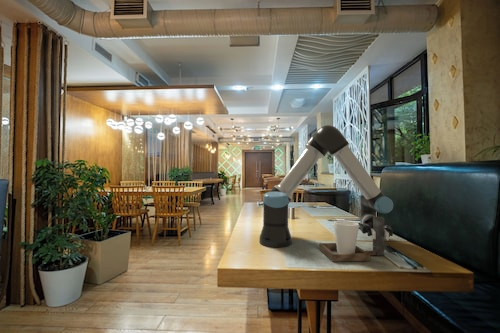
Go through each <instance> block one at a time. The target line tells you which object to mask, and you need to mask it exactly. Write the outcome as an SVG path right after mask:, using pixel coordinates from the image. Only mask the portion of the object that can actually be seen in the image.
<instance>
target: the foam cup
mask: <svg viewBox="0 0 500 333" xmlns="http://www.w3.org/2000/svg"><path fill="white" fill-rule="evenodd" d="M358 223H359V222H356V221H351V220H334V221H333V229H334V235H335V243H336V246H337V250H336V254H337V253H355V248H356V246H357V240H358V234H359V230H360V229H359V224H358Z"/></svg>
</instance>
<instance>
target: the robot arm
mask: <svg viewBox="0 0 500 333" xmlns="http://www.w3.org/2000/svg"><path fill="white" fill-rule="evenodd" d="M304 146H305V147H304V148H305V149H304V150H303V152H302V153H301V155H300V156H299V157H298V159H296V161H295V163H294V164H293V165H292V167H291V168H290V169H289V170H288V172H287V173H286V175H285V176H284V177H283V178H282V179H281V181H280V183H278V184H277V185H274V186H273V187H271V190H269V191H268V192H265V193H264V194H263V198H262V200H263V201H262V204H263V215H262V216H263V220H262V221H263V222H262V223H263V224H262V225H263V226H262V229H261V233H260V235H259V243H260V245H262V246H265V247H269V248H270V247H271V248H285V247H288V246H291V245H292V244H293V243H292V241H293V239H292V238H293V237H292V236H291V235H292V234H291V232H290V228H289V204H290V202H291V201H292V200H293V197H292V196H293V194H294V193H295V191H296V190H297V188H298V187H299V186H300V184H301V183H302V182H303V180H305V178H306V176H307V175H308V174H309V172H311V169H313V167H314V166H315V164H316V163H317V162H318V161H319V160H320V159H324V158H325V157H326V155H327V154H328V153H329V155H330V156H332V157H335V159H336V160H337V162H338V163H339V165H340V166H341V168H343V169H344V172H345V173H346V174H347V175H348V176H349V178H350V179H351V180H352V182H353V183H354V185H355V186H356V187H357V189H358V190H359V192H360V194H359V195H360V196H359V197H360V198H359V199H360V200H359V201H360V206H359V208H360V214H359V222H357V223H358V224H359V230H360V232H361V233H362V234H363V235H365V234H367V237H371V238H372V240H373V239H376V232H375V231H374V229H373V217H377V213H380V214H388V213H390V212H392V210H393V209H394V203H393V200H392V199H391V198H389V197H387V196H386V195H384V193H383V192H382V191H381V189H380V188H379V186H378V185H377V184H376V182H375V181H374V180H373V178H372V177H371V175H370V174H369V172H368V171H367V170H366V168H365V167H364V165H362V163H361V161H360V160H359V158H357V156H356V155H355V154H354V152H353V151H352V149H351V148H350V143H349V142H348V140H347V138H345V136H344V135H343V133H342V132H341V131H340V130H339V129H338V128H337V127H335V126H333V125H330V124H329V125H328V124H327V125H323V126H321V127H319V128H318V129H316V130H315V131H313V133H312V134H311V136H310V137H309V139H308V141H307V142H306V143H305V145H304ZM393 231H394V229H393V228H392V227H391V225H390V224H388V225H384V240H385V241H390V237H393V235H394V232H393Z"/></svg>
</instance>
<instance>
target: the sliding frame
mask: <svg viewBox="0 0 500 333" xmlns="http://www.w3.org/2000/svg"><path fill="white" fill-rule="evenodd" d="M384 226H385V217H382V216H376V217H373V229H374V231H375V232H376V239H373V238H372V250H364V249H362V248H361V247H359V246H357V245H356V248H355V253H337V252H336V253H335V252H333V250H334V251H335V250H336V251H337V246H336V242H319V243H318V250H320V251H321V253H323V254H324V255H325V256H326V257H327V258H328V259H329V260H330V261H332V262H370V261H371V256H385V237H384Z"/></svg>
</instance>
